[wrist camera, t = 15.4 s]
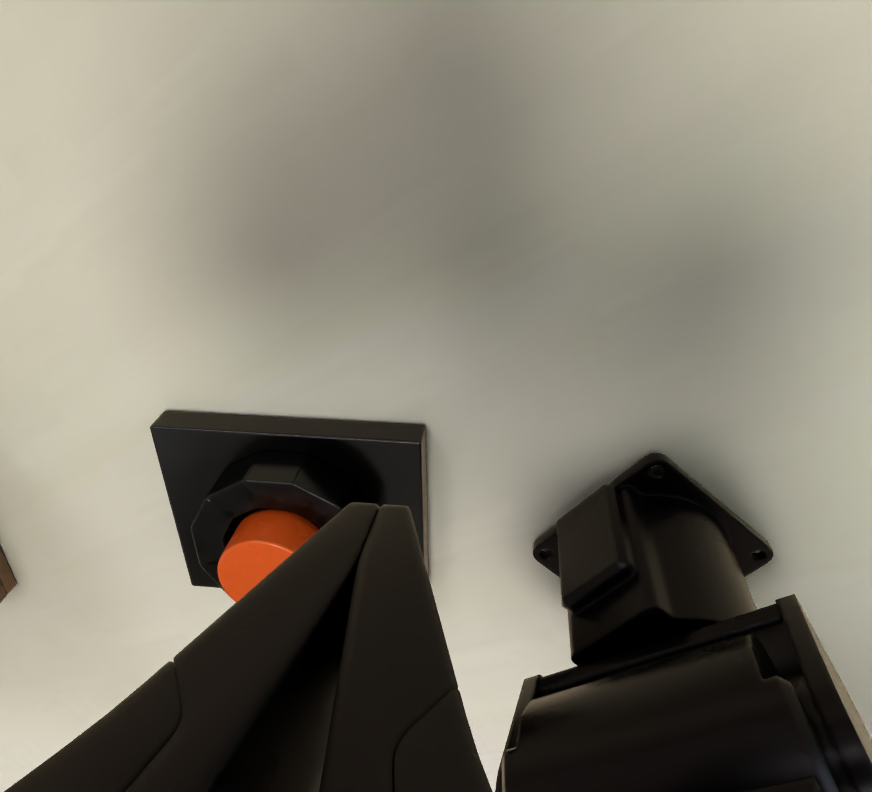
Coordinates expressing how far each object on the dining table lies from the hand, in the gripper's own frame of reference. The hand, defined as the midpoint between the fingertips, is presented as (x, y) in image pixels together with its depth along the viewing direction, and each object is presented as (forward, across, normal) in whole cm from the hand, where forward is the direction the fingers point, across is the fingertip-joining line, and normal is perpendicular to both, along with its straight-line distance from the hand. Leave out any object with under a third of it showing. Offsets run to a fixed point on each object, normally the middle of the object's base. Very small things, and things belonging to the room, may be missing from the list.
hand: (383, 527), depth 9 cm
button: (+10, +6, +10) cm, 16 cm away
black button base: (+13, +6, +10) cm, 18 cm away
